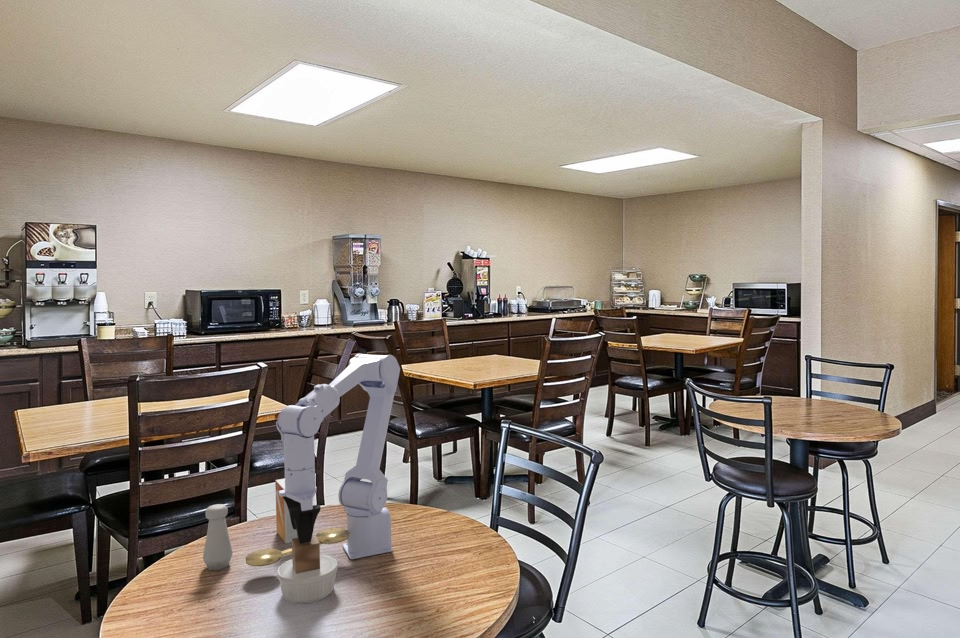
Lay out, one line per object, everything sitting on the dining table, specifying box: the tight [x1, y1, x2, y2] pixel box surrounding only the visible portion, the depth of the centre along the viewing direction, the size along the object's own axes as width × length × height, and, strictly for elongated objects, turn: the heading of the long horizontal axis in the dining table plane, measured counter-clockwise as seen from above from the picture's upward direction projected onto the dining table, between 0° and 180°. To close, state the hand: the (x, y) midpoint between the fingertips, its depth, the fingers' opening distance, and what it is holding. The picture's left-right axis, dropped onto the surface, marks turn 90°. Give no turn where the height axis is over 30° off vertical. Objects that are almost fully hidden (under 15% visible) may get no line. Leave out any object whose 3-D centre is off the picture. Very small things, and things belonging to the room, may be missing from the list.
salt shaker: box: [202, 503, 233, 571], centre depth 130 cm, size 6×6×13 cm
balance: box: [245, 527, 349, 567], centre depth 128 cm, size 21×7×6 cm, turn 115°
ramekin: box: [276, 554, 339, 605], centre depth 118 cm, size 11×11×5 cm
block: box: [291, 534, 321, 573], centre depth 118 cm, size 4×4×5 cm
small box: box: [275, 477, 298, 544], centre depth 146 cm, size 8×6×13 cm
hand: (301, 534), depth 120 cm, fingers open, 7 cm apart
